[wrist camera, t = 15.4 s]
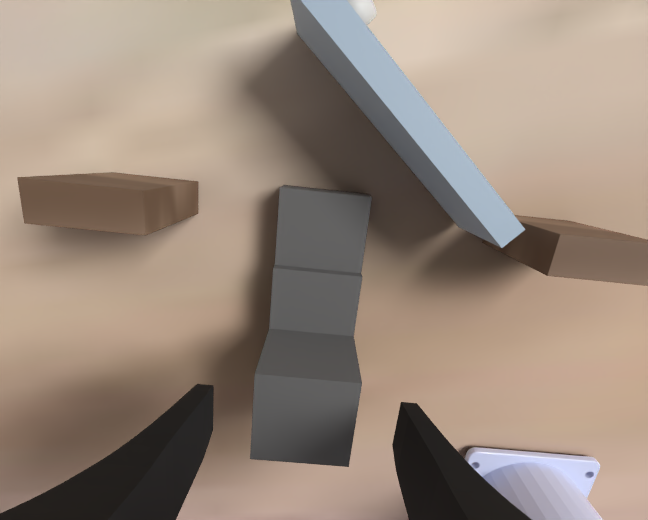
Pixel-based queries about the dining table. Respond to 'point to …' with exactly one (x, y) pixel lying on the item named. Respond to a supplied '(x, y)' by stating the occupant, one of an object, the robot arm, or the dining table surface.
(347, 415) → the notched block
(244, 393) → the dining table surface
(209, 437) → the robot arm
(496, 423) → the dining table surface
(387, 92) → the door leaf
